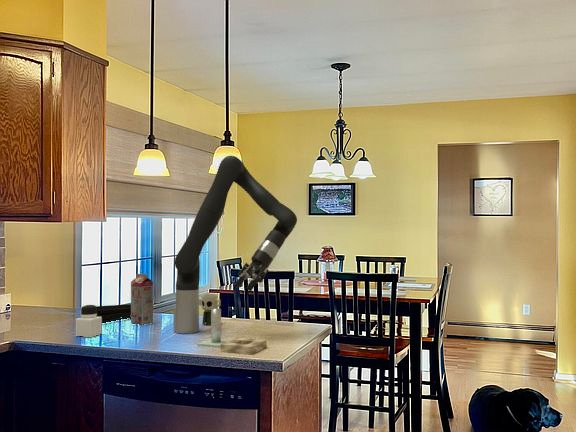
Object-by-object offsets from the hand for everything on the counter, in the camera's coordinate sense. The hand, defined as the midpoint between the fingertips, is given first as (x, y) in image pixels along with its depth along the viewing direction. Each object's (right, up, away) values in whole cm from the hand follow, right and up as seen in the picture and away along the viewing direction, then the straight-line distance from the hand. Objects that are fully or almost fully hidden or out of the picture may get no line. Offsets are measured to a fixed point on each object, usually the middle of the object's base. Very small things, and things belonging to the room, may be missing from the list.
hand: (242, 288), depth 220 cm
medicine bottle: (-61, -20, +7) cm, 65 cm away
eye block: (+2, -19, -18) cm, 26 cm away
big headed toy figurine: (-17, -20, +32) cm, 41 cm away
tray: (-65, -20, +47) cm, 83 cm away
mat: (-9, -19, -8) cm, 23 cm away
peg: (-9, -19, -8) cm, 22 cm away
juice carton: (-47, -20, +33) cm, 60 cm away
